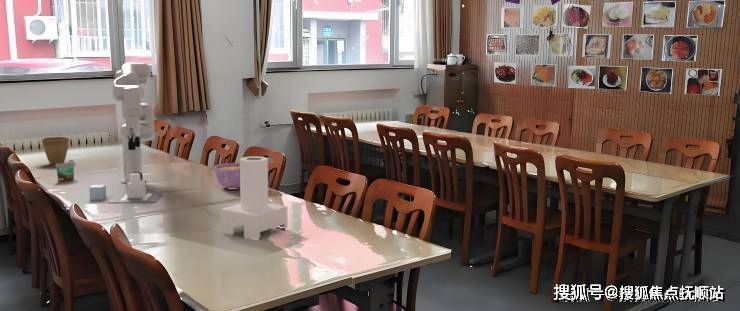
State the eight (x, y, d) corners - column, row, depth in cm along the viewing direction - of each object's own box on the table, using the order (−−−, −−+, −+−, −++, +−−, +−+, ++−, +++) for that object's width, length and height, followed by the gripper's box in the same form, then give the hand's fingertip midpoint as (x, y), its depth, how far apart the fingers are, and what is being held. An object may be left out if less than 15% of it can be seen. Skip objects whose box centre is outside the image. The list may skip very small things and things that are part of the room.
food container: (66, 182, 351) (65, 164, 349) (56, 182, 352) (55, 163, 350) (81, 178, 362) (80, 160, 361) (71, 177, 364) (70, 159, 362)
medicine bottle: (131, 195, 324) (130, 171, 322) (145, 195, 324) (145, 171, 322) (127, 198, 317) (125, 174, 315) (142, 198, 317) (141, 174, 315)
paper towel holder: (256, 241, 254) (255, 164, 249) (221, 233, 264) (219, 159, 259) (287, 230, 270) (287, 158, 265) (253, 222, 280) (252, 153, 275)
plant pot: (75, 163, 404) (74, 138, 401) (52, 167, 391) (51, 140, 389) (61, 161, 412) (59, 135, 409) (38, 164, 399) (36, 138, 396)
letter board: (118, 192, 330) (118, 192, 330) (164, 192, 333) (164, 191, 333) (107, 203, 308) (106, 202, 308) (155, 202, 311) (155, 202, 311)
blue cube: (93, 196, 321) (92, 184, 320) (106, 196, 322) (105, 184, 321) (89, 199, 315) (89, 187, 314) (102, 199, 316) (102, 187, 315)
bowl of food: (260, 186, 350) (260, 165, 348) (238, 193, 332) (237, 171, 330) (230, 182, 359) (229, 161, 357) (206, 189, 341) (205, 167, 339)
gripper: (129, 111, 322) (130, 145, 324) (120, 114, 305) (121, 151, 307) (145, 111, 323) (146, 145, 325) (136, 114, 306) (138, 151, 308)
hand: (134, 148), depth 316 cm, fingers open, 9 cm apart
